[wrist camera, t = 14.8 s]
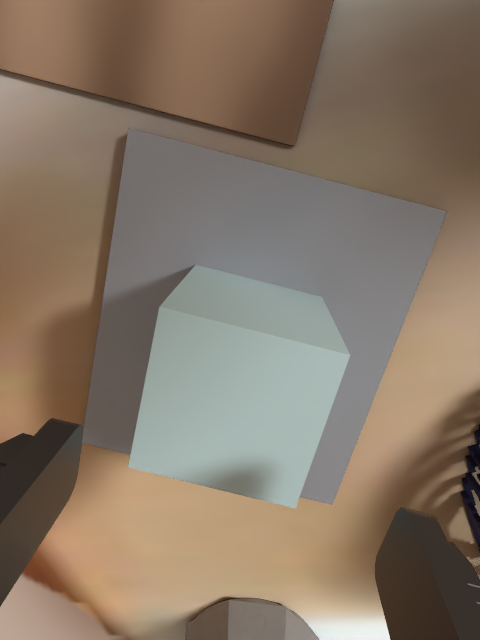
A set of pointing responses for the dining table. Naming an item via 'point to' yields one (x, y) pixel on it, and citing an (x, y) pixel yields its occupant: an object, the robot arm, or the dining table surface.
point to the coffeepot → (248, 622)
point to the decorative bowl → (472, 487)
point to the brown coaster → (176, 55)
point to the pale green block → (238, 386)
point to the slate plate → (253, 273)
